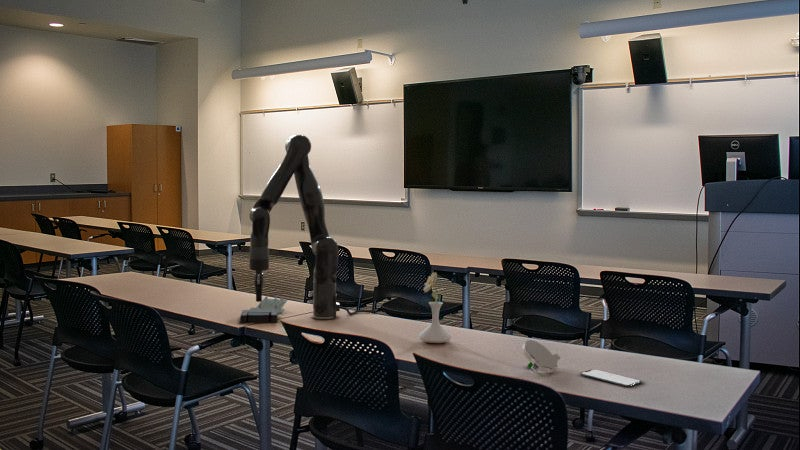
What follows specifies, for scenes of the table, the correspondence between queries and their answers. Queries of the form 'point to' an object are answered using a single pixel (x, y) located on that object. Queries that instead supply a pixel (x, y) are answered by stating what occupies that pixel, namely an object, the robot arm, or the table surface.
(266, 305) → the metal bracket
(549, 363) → the tabbed white plastic disc
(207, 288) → the table surface
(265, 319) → the small black pad
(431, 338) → the flower in vase
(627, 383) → the smartphone
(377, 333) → the table surface
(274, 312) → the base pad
